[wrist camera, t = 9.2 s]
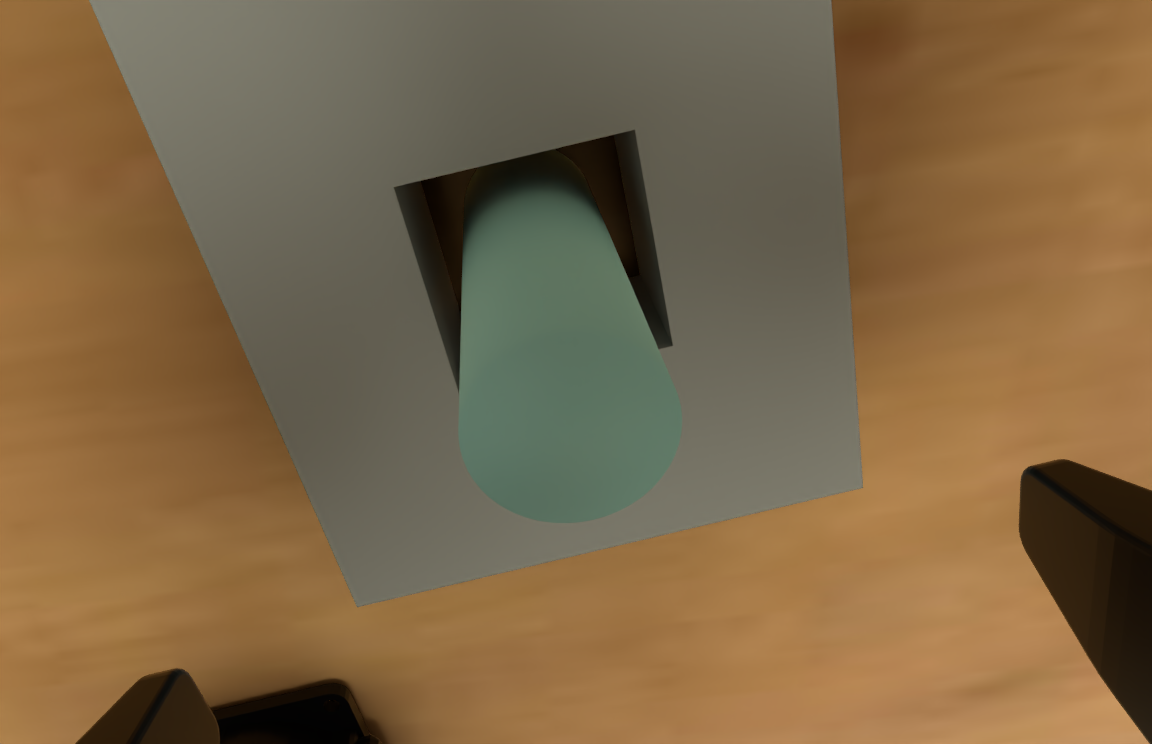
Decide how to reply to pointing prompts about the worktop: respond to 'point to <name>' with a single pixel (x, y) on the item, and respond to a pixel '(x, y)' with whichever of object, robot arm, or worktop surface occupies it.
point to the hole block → (417, 267)
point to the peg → (555, 351)
